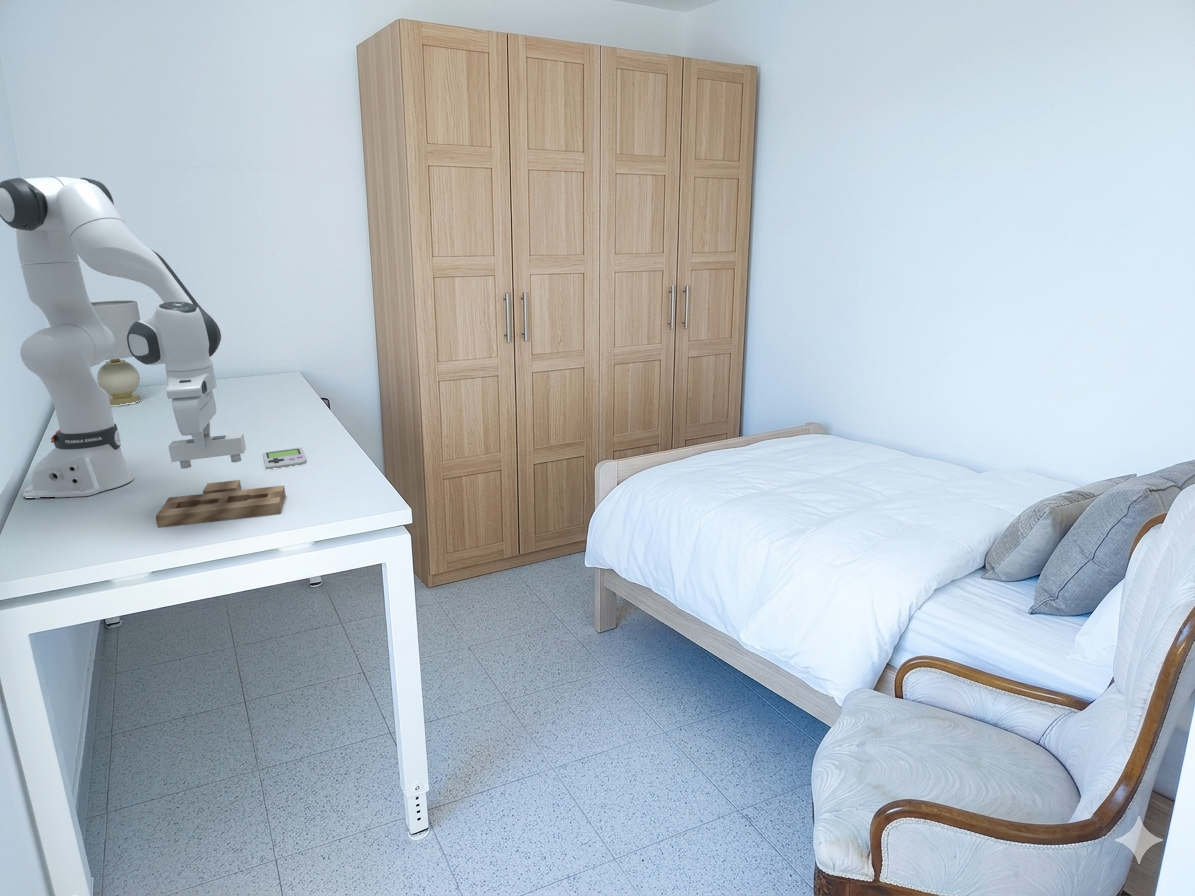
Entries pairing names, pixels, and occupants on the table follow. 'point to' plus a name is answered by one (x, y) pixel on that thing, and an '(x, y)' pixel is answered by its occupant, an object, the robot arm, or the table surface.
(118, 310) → the lamp
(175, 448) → the power strip
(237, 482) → the brown block
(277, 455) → the handheld gaming console
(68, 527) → the table surface
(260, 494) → the keyhole board
